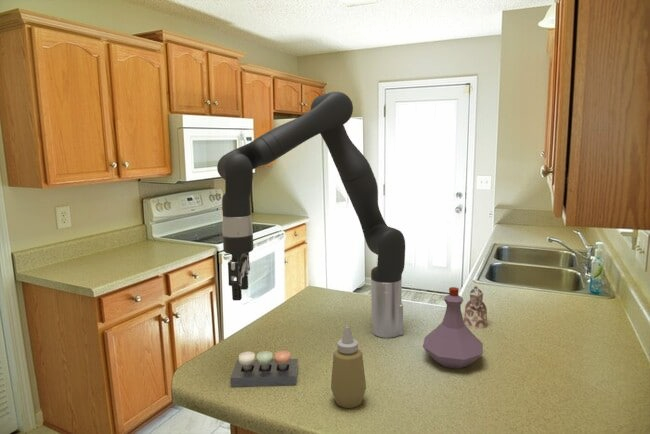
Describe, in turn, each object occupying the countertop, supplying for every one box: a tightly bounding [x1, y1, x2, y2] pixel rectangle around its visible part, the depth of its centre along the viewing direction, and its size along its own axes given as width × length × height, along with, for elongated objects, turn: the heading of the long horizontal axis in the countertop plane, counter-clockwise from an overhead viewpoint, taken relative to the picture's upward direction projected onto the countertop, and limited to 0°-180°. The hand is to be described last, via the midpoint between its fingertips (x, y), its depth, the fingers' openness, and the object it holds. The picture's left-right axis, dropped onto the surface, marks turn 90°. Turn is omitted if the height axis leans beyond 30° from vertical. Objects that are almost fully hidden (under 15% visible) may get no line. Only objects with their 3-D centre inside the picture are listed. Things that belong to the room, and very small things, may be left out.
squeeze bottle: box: [330, 325, 367, 409], centre depth 100 cm, size 8×8×18 cm
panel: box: [229, 358, 299, 388], centre depth 114 cm, size 16×9×2 cm, turn 90°
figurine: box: [463, 285, 488, 330], centre depth 142 cm, size 7×7×12 cm
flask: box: [422, 286, 484, 370], centre depth 118 cm, size 16×16×20 cm
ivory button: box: [238, 351, 256, 371], centre depth 113 cm, size 4×4×4 cm
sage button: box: [256, 350, 274, 371], centre depth 113 cm, size 4×4×4 cm
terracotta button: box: [273, 350, 291, 370], centre depth 113 cm, size 4×4×4 cm
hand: (240, 294), depth 115 cm, fingers open, 8 cm apart
